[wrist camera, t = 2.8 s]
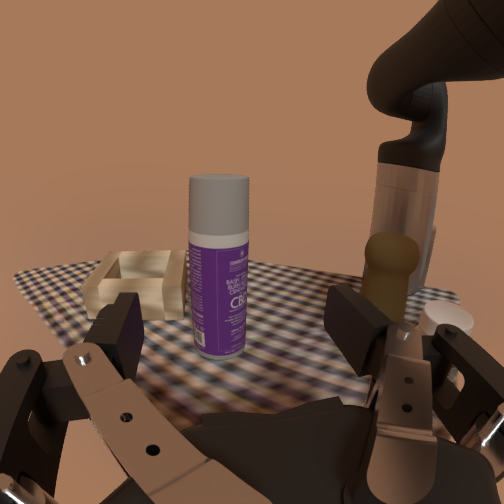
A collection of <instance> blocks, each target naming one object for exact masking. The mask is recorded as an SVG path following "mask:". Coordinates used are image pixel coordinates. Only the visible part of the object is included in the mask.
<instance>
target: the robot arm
mask: <svg viewBox="0 0 504 504" xmlns="http://www.w3.org/2000/svg"><path fill="white" fill-rule="evenodd" d="M500 78H504V0H439V1H438V2H437V3H436V4H435V5H434V6H433V8H432V9H431V10H430V11H429V12H428V13H427V14H426V15H425V16H424V17H423V18H422V19H421V20H420V21H419V22H418V23H417V24H416V25H415V26H414V27H413V28H412V29H411V30H410V31H409V32H408V33H407V34H405V35H404V36H403V37H402V38H400V39H399V40H398V41H397V42H395V43H394V44H393V45H392V46H390V47H389V48H388V49H387V50H386V51H384V53H382V54H381V55H380V56H379V57H378V59H377V60H376V61H375V63H374V64H373V66H372V68H371V70H370V73H369V75H368V80H367V94H368V98H369V100H370V102H371V104H372V105H373V107H374V108H375V109H377V110H378V111H379V112H382V113H384V114H386V115H389V116H392V117H397V118H401V119H405V120H409V121H412V126H411V132H410V134H409V135H408V136H406V137H404V138H402V139H399V140H394V141H388V142H384V143H382V144H381V145H380V147H379V150H378V165H377V178H376V188H375V198H374V207H373V215H372V222H371V229H370V236H369V238H370V237H371V236H372V235H373V234H375V233H378V232H394V233H399V234H402V235H405V236H407V237H409V238H411V239H413V240H414V241H415V242H416V243H417V244H418V247H419V251H420V259H419V263H418V266H417V268H416V270H415V271H414V272H413V273H412V274H411V275H410V276H409V284H408V292H407V295H412V294H415V293H416V292H417V291H418V290H419V289H420V288H423V287H424V283H425V279H426V275H427V271H428V267H429V263H430V258H431V254H432V249H433V244H434V239H435V234H436V227H435V226H434V225H433V220H434V214H435V206H436V199H437V191H438V182H439V173H438V172H440V163H441V160H442V157H443V154H444V151H445V144H446V131H447V113H448V95H447V87H446V83H445V82H451V81H483V80H495V79H500ZM367 269H368V265H367V262H366V261H365V266H364V272H363V280H364V278H365V275H366V272H367ZM324 327H325V329H326V331H327V333H328V334H329V335H330V337H331V338H332V340H333V341H334V342H335V344H336V345H337V347H338V348H339V350H340V351H341V352H342V354H343V355H344V357H345V358H346V359H347V361H348V362H349V364H350V365H351V367H352V368H353V369H354V371H355V372H356V374H357V375H358V377H361V376H365V375H369V374H371V376H372V377H371V379H370V382H369V386H368V390H367V394H366V398H365V402H364V406H363V407H361V406H355V405H343V403H342V402H341V400H340V398H339V396H337V397H332V398H328V399H323V400H318V401H313V402H308V403H305V404H303V405H300V406H298V407H295V408H293V409H290V410H287V411H285V412H282V413H279V414H257V413H245V412H227V413H210V414H201V415H202V424H199V425H195V426H192V427H189V428H187V429H185V430H182V431H180V432H178V431H177V430H176V429H175V428H174V427H173V426H172V424H171V423H170V422H169V421H168V420H167V419H166V418H165V417H164V416H163V415H162V414H161V413H160V412H159V411H158V410H157V409H156V408H155V406H154V405H153V404H152V403H151V402H150V401H149V400H148V399H147V398H146V396H145V395H144V394H143V393H142V392H141V391H140V389H139V388H138V387H137V386H136V385H135V383H134V382H135V377H136V372H137V367H138V363H139V358H140V354H141V350H142V345H143V341H144V325H143V319H142V313H141V306H140V299H139V295H138V293H137V292H120V293H119V294H118V296H117V298H116V300H115V302H114V304H107V305H106V306H105V307H103V308H102V309H101V310H100V311H99V313H98V315H97V316H96V319H95V320H94V322H93V325H92V326H91V328H90V330H89V331H88V333H87V335H86V337H85V339H84V341H83V343H79V344H75V345H73V346H71V347H70V348H68V349H67V350H66V351H65V353H64V354H63V359H62V360H56V361H49V362H43V361H42V359H41V356H40V354H39V353H38V352H36V351H34V350H22V351H19V352H17V353H15V354H14V355H13V356H11V357H10V358H9V360H8V361H7V363H6V365H5V366H4V368H3V370H2V372H1V373H0V504H59V503H58V502H57V501H56V500H55V499H54V494H55V487H56V480H57V473H58V468H59V463H60V458H61V453H62V448H63V444H64V439H65V435H66V431H67V427H68V422H69V421H73V420H81V419H88V418H89V419H90V421H91V422H92V424H93V426H94V428H95V429H96V431H97V433H98V434H99V436H100V437H101V439H102V441H103V442H104V444H105V445H106V447H107V448H108V450H109V451H110V453H111V454H112V456H113V457H114V459H115V460H116V462H117V463H118V465H119V466H120V467H121V469H122V470H123V472H124V473H125V475H126V476H127V477H128V478H127V479H126V480H125V481H124V482H123V483H122V484H121V485H120V486H119V487H118V488H117V489H115V490H114V491H113V492H112V493H111V494H110V495H109V496H108V497H107V498H105V499H104V500H103V501H102V502H101V503H100V504H501V501H500V498H499V495H498V491H497V486H496V483H497V482H499V481H500V480H501V479H502V478H503V477H504V367H503V366H502V365H500V364H499V363H498V362H497V361H496V360H495V359H494V358H493V357H492V356H491V355H490V354H489V353H487V352H486V351H485V350H484V349H483V348H482V347H481V346H480V345H479V344H477V343H476V342H475V341H474V340H473V339H472V338H471V337H469V336H468V335H467V334H466V333H465V332H464V331H462V330H461V329H460V328H458V327H457V326H454V325H451V324H439V325H438V326H437V327H436V330H435V333H434V335H421V333H420V331H419V330H418V329H417V328H415V327H414V326H412V325H410V324H406V323H393V322H392V321H391V320H390V319H389V318H388V317H387V316H386V315H385V314H384V313H382V312H381V311H379V309H378V308H377V307H376V306H374V304H373V303H372V302H370V301H369V300H368V299H367V298H365V297H363V296H361V295H359V294H357V293H356V292H355V291H354V290H353V289H352V288H351V287H350V286H349V285H347V284H345V285H332V286H330V287H329V290H328V295H327V301H326V307H325V313H324ZM453 365H454V366H455V367H456V368H457V369H458V370H459V371H460V372H461V373H462V374H463V376H464V379H465V383H464V387H463V389H462V390H461V392H460V391H459V390H458V389H457V388H456V387H455V385H454V384H453V383H452V382H451V381H450V380H449V379H448V378H447V376H448V375H449V373H450V371H451V369H452V366H453ZM432 409H433V411H434V412H435V413H436V415H437V416H438V418H439V419H440V420H441V422H442V423H443V424H444V426H445V427H446V429H447V430H448V431H449V433H450V434H451V436H452V437H453V438H454V440H455V441H456V443H454V442H451V441H449V440H446V439H443V438H440V437H438V436H435V435H433V433H432ZM31 411H32V413H31ZM30 413H31V416H30ZM29 416H30V418H29ZM28 419H29V421H28Z"/></svg>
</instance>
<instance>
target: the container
mask: <svg viewBox="0 0 504 504" xmlns="http://www.w3.org/2000/svg"><path fill="white" fill-rule="evenodd" d="M248 246H249V177H248V176H242V175H228V174H209V175H208V174H207V175H194V176H190V178H189V266H190V285H191V302H192V316H193V328H194V340H195V347H196V350H197V351H198V352H199V353H200V354H201V355H202V356H204V357H206V358H209V359H213V360H227V359H231V358H234V357H236V356H238V355H239V354H241V353H242V351H243V350H244V348H245V335H246V304H247V275H248Z"/></svg>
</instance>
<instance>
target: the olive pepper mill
mask: <svg viewBox="0 0 504 504" xmlns="http://www.w3.org/2000/svg"><path fill="white" fill-rule="evenodd" d="M419 259H420V251H419V247H418V244H417V243H416V242H415V241H414V240H413V239H411V238H409V237H407V236H405V235H402V234H399V233H394V232H378V233H375V234H373V235H372V236H371V237H370V238H369V240H368V242H367V244H366V247H365V260H366V262H367V265H368V269H367V272H366V275H365V278H364V281H363V284H362V287H361V290H360V293H359V295H361V296H363V297H365V298H367V299H368V300H369V301H370V302H372V303H373V304H374V306H376V307H377V308H378V309H379V311H381V312H382V313H384V314H385V315H386V316H387V317H388V318H389V319H390V320H391V321H392V322H393V323H403V319H404V313H405V306H406V300H407V292H408V284H409V276H410V275H411V274H412V273H413V272H414V271H415V270H416V268H417V266H418V263H419Z"/></svg>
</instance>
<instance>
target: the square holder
mask: <svg viewBox="0 0 504 504" xmlns="http://www.w3.org/2000/svg"><path fill="white" fill-rule="evenodd" d="M186 282H187V269H186V250H175V251H174V250H173V251H171V250H169V251H127V252H109V253H108V254H107V255H106V256H105V257H104V259H103V260H102V261H101V262H100V264H99V265H98V266H97V267H96V268H95V270H94V271H93V272H92V273H91V275H90V276H89V277H88V279H87V280H86V281H85V282H84V284H83V285H82V286H81V287H82V292H83V297H84V301H85V305H86V309H87V313H88V317H89V319H96V316H97V315H98V313H99V311H100V310H101V309H102V308H103V307H105V306H106V305H107V304H114V302H115V300H116V298H117V296H118V294H119V293H120V292H137V293H138V295H139V299H140V306H141V313H142V319H143V320H184V310H185V295H186Z"/></svg>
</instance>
